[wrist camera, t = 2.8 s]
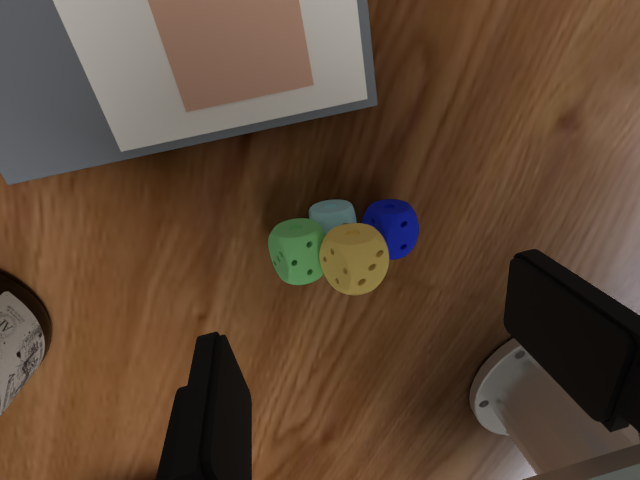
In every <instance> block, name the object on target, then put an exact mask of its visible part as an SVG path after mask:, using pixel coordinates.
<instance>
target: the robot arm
mask: <svg viewBox="0 0 640 480" xmlns="http://www.w3.org/2000/svg"><path fill="white" fill-rule="evenodd" d="M504 326H505V328H506V330H507V331H508V332H509V333H510V334H511V335H512V336H513V337H514V338H512V339H511V340H509V341H508V342H507V343H505V344H504V345H503V346H501V347H500V348H499V349H497V350H496V351H495V352H494V353H493V354H492V355H491V356H490V357H489V358H488V359H487V360H486V362H485V363H484V364H483V365H482V367H481V368H480V369H479V371H478V373H477V375H476V376H475V378H474V380H473V383H472V386H471V389H470V397H469V401H470V406H471V409H472V411H473V413H474V415H475V416H476V418H477V420H478V421H479V422H480V424H481V425H482V426H483V427H485V428H486V429H487V430H489V431H491V432H494V433H497V434H500V435H507V436H511V438H512V439H513V441H514V442H515V444H516V445H517V446H518V448H519V449H520V451H521V452H522V454H523V455H524V457H525V458H526V460H527V461H528V462H529V464H530V465H531V467H532V468H533V470H534V471H535V473H536V474H537V475H536V476H533V477H530V478H526V479H523V480H640V315H638V314H636V313H635V312H633V311H632V310H630V309H629V308H627V307H626V306H624V305H622V304H621V303H619V302H618V301H616V300H615V299H613V298H612V297H610V296H609V295H607V294H605V293H604V292H602V291H601V290H599V289H598V288H596V287H595V286H593V285H591V284H590V283H588V282H587V281H585V280H584V279H582V278H581V277H579V276H578V275H576V274H574V273H573V272H571V271H570V270H568V269H567V268H565V267H564V266H562V265H560V264H559V263H557V262H556V261H554V260H553V259H551V258H550V257H548V256H547V255H545V254H543V253H542V252H540V251H539V250H536V249H531V250H528V251H524V252H520V253H517V254H515V256H514V258H513V259H512V260H511V261H510V267H509V276H508V285H507V294H506V303H505V312H504ZM156 480H252V402H251V395H250V391H249V389H248V386H247V384H246V382H245V379H244V377H243V375H242V372H241V370H240V368H239V365H238V363H237V361H236V358H235V356H234V354H233V351H232V349H231V346H230V344H229V342H228V339H227V337H226V336H225V335H221V336H220V335H219V333H218V332H213V333H209V334H205V335H201V336H198V337H197V340H196V345H195V350H194V355H193V360H192V365H191V370H190V375H189V380H188V385H187V386H184V387H181V388H179V389H178V390H177V392H176V395H175V399H174V403H173V407H172V412H171V416H170V420H169V425H168V429H167V433H166V438H165V442H164V446H163V451H162V455H161V459H160V464H159V468H158V472H157V477H156Z"/></svg>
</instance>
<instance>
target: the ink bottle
mask: <svg viewBox="0 0 640 480" xmlns="http://www.w3.org/2000/svg"><path fill="white" fill-rule="evenodd" d="M50 343H51V325H50V321H49V318H48V315H47V313H46V311H45V309H44V308H43V306H42V305H41V304H40V302H39V301H38V300H37V299H36V298H35V297H34V296H33V295H32V294H31V293H30V292H29V291H27V290H26V289H25V288H23V287H22V286H21V285H19V284H17V283H16V282H14V281H13V280H11V279H9V278H7V277H5V276H3V275H1V274H0V416H1V415H2V413H3V412H4V411H5V410H6V408H7V407H8V406H9V404H10V403H11V402H12V401H13V399H14V398H15V397H16V395H17V394H18V393H19V391H20V390H21V389H22V388H23V386H24V385H25V384H26V382H27V381H28V380H29V378H30V377H31V376H32V375H33V373H34V372H35V371H36V369H37V368H38V366H39V365H40V364H41V362H42V361H43V360H44V358H45V356H46V354H47V352H48V350H49V347H50Z"/></svg>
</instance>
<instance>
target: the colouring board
mask: <svg viewBox="0 0 640 480" xmlns="http://www.w3.org/2000/svg"><path fill="white" fill-rule="evenodd" d="M377 105H378V103H377V93H376V83H375V72H374V62H373V52H372V42H371V32H370V21H369V11H368V1H367V0H0V173H1V175H2V176H3V178H4V180H5V181H6V183H7V184H8V185H11V184H15V183H20V182H25V181H29V180H34V179H39V178H43V177H48V176H52V175H57V174H62V173H66V172H71V171H76V170H80V169H85V168H90V167H94V166H99V165H103V164H108V163H113V162H117V161H122V160H127V159H131V158H136V157H141V156H145V155H150V154H154V153H159V152H164V151H168V150H173V149H178V148H182V147H187V146H192V145H196V144H201V143H205V142H210V141H215V140H219V139H224V138H229V137H233V136H238V135H243V134H247V133H252V132H256V131H261V130H266V129H270V128H275V127H280V126H284V125H289V124H294V123H298V122H303V121H307V120H312V119H317V118H321V117H326V116H331V115H335V114H340V113H344V112H349V111H354V110H358V109H363V108H368V107H372V106H377Z"/></svg>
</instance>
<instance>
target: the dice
mask: <svg viewBox="0 0 640 480" xmlns="http://www.w3.org/2000/svg"><path fill="white" fill-rule="evenodd" d="M418 233H419V224H418V219H417V216H416V213H415V211H414V210H413V208H412V207H411V206H410V205H409V204H408V203H407V202H405V201H402V200H396V199H386V200H379V201H376V202H374V203H372V204H371V205H370V206H369V207H368V208H367V210H366V212H365V214H364V216H363V219H362V223H357V222H356V216H355V211H354V208H353V205H352V204H351V203H350V202H349V201H346V200H339V199H334V200H325V201H321V202H318V203H315V204H314V205H312V206H311V208H310V209H309V219H307V218H297V219H290V220H286V221H284V222H281V223H279V224H278V225H276V226H275V227H274V228H273V230H272V231H271V233H270V235H269V238H268V248H269V253H270V257H271V260H272V263H273V266H274V268H275V270H276V272H277V274H278V276H279V277H280V278H281V279H282V280H283V281H284V282H286V283H288V284H292V285H304V284H309V283H312V282H314V281H316V280H318V279H319V278H320V277H321V276H322V275H323V274H324V275H325V277H326V279H327V281H328V282H329V284H330V285H331V286H332V287H333V288H334V289H335V290H337V291H339V292H341V293H343V294H347V295H361V294H365V293H368V292H370V291H372V290H374V289H375V288H376V287H377V286H378V285H379V284H380V283H381V282H382V280H383V279H384V277H385V275H386V272H387V269H388V265H389V260H393V259H399V258H402V257H404V256H406V255H407V254H408V253H409V252H410V251H411V250H412V249H413V247H414V246H415V244H416V241H417V238H418Z"/></svg>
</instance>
